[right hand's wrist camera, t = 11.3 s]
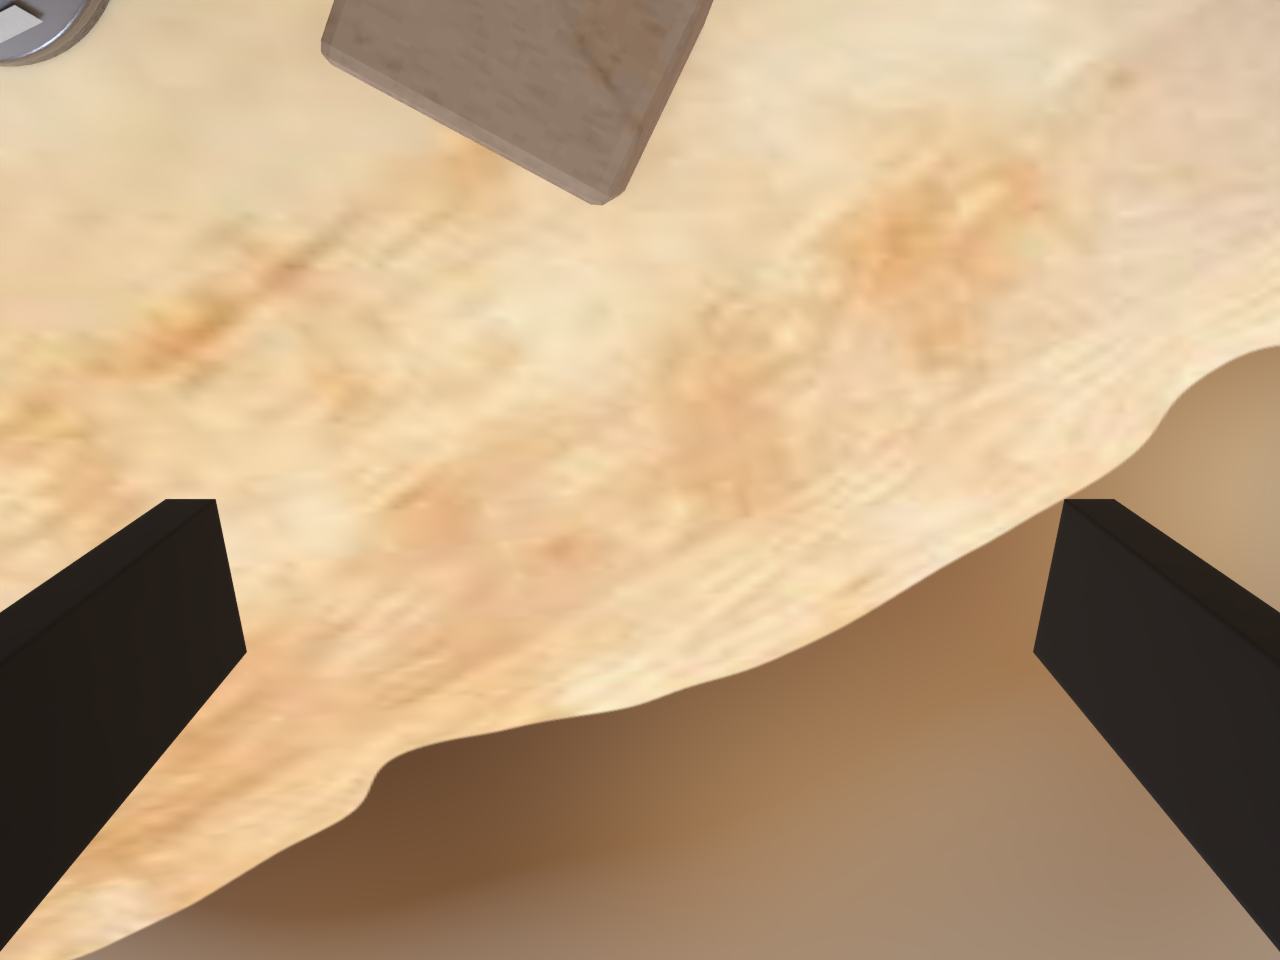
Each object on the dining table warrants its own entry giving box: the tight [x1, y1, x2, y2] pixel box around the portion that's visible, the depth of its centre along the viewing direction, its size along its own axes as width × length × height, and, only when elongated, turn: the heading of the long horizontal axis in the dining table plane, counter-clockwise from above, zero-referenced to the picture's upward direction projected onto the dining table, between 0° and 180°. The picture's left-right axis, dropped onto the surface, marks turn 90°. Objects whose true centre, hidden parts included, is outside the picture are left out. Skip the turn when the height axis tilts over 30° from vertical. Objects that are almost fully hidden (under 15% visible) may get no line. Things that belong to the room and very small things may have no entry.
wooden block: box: [321, 0, 713, 205], centre depth 33 cm, size 10×10×20 cm
